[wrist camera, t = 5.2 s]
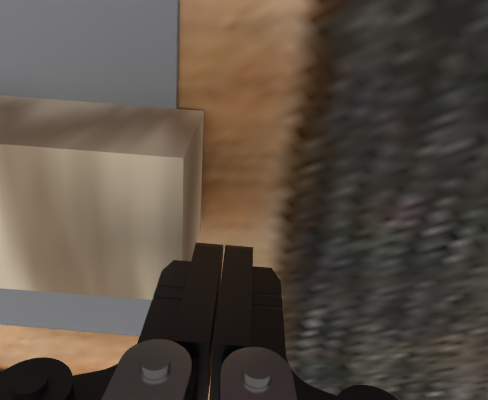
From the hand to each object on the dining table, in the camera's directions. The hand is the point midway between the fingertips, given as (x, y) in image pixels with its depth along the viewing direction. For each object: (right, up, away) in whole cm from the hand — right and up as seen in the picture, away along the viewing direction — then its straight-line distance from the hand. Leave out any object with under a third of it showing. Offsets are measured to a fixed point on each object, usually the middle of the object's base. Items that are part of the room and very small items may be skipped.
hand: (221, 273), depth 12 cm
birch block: (-1, +2, +4) cm, 4 cm away
